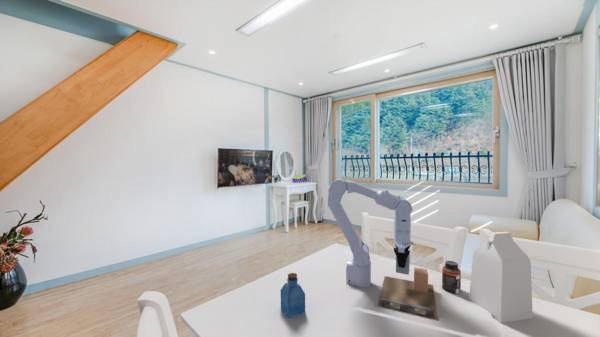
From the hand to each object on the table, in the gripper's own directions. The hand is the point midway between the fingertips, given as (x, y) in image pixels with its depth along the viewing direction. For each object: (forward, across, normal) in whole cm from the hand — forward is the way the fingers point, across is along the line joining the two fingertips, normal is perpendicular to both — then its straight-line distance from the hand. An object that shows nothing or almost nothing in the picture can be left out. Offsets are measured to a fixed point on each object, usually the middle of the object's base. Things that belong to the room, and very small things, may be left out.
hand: (402, 264), depth 95 cm
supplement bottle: (+10, +5, -17) cm, 20 cm away
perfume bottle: (+10, -29, +33) cm, 45 cm away
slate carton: (+2, 0, 0) cm, 3 cm away
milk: (+10, -1, -30) cm, 32 cm away
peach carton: (+9, +1, -7) cm, 11 cm away
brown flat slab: (+10, -6, -2) cm, 11 cm away
